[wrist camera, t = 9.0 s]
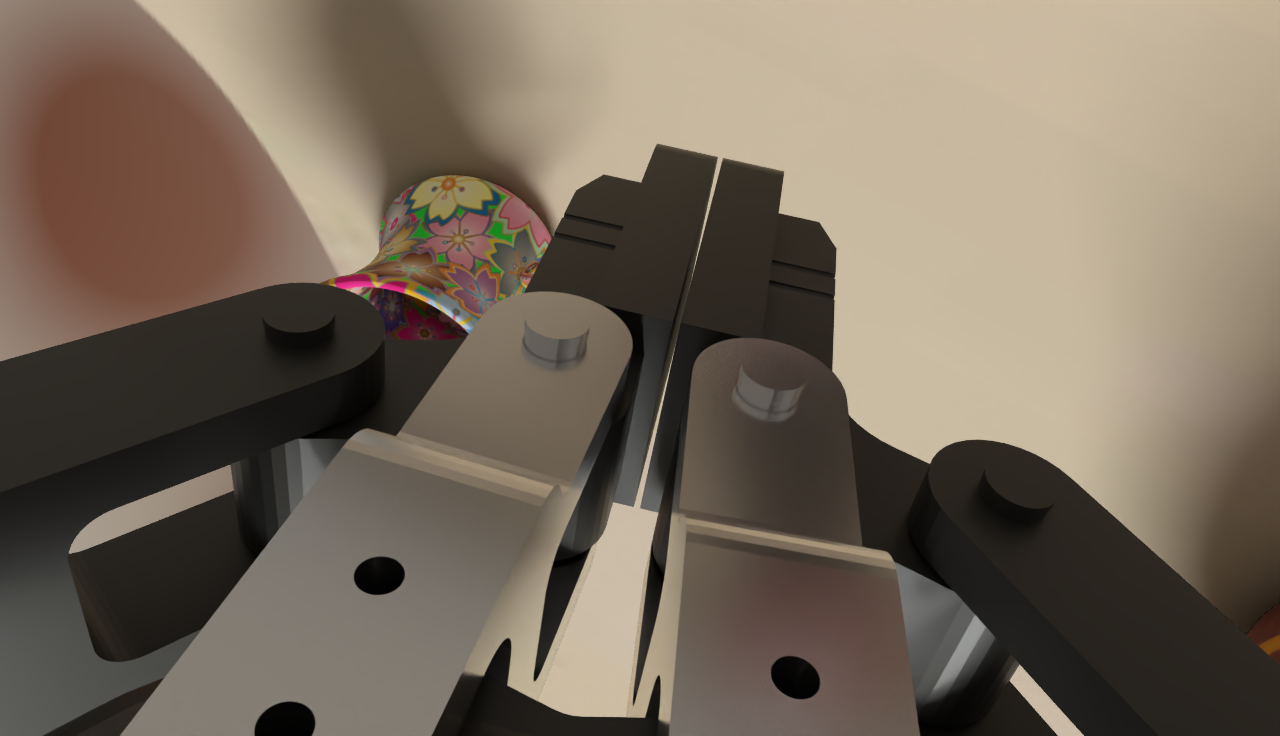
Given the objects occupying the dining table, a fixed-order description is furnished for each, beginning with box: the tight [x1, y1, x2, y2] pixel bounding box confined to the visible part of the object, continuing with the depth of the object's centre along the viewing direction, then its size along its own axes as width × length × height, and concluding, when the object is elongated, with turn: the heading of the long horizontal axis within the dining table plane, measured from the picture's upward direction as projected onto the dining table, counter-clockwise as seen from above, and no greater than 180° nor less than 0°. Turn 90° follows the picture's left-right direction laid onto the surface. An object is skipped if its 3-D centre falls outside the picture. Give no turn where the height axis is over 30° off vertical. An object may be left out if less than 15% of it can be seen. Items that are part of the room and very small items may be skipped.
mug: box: [319, 175, 552, 340], centre depth 42 cm, size 12×9×11 cm
